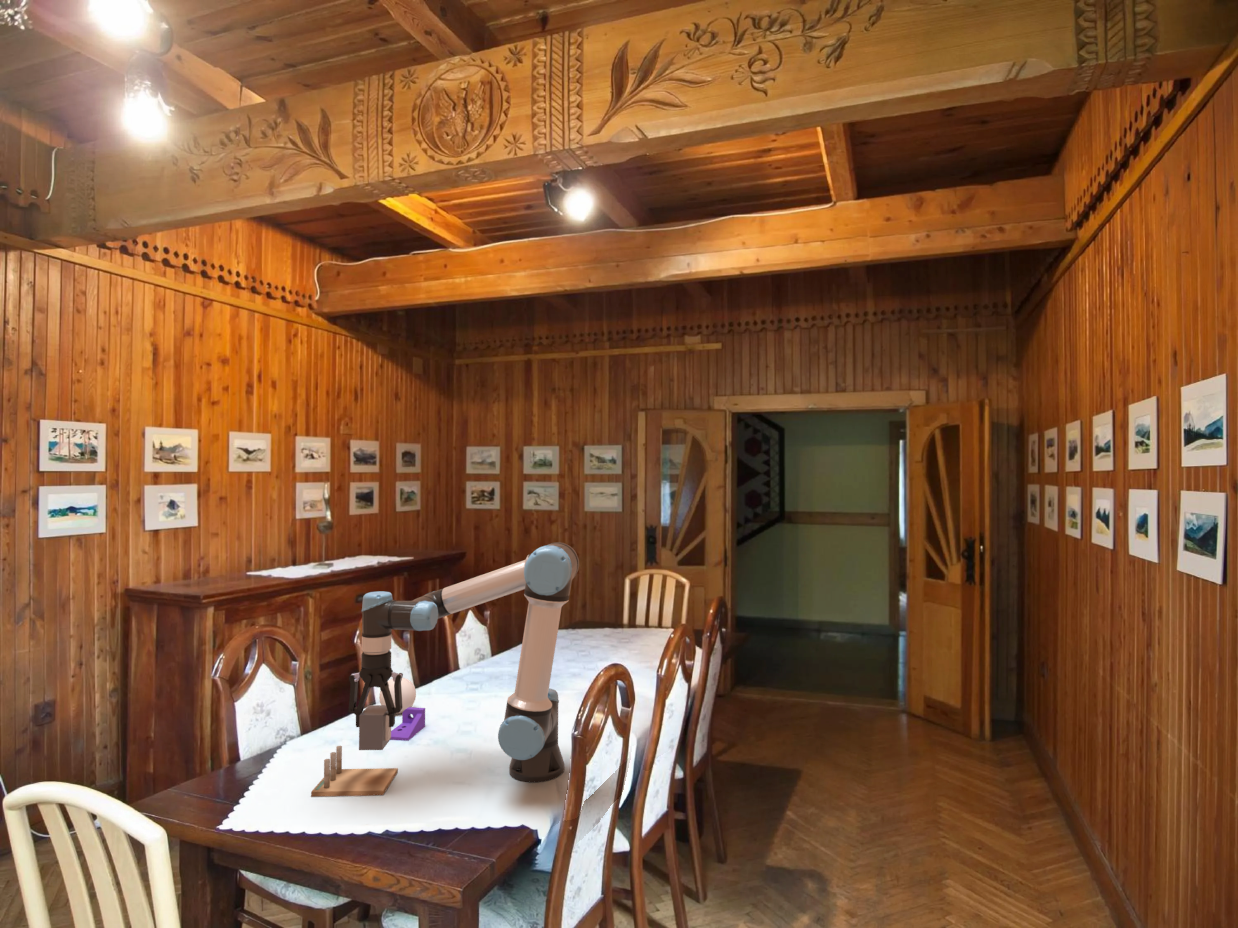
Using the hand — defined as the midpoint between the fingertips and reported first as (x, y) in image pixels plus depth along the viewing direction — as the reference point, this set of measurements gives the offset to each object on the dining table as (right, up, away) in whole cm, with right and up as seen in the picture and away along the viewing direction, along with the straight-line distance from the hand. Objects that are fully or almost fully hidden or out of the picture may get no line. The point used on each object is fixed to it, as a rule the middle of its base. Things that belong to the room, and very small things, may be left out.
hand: (375, 738), depth 190 cm
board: (-5, -12, 0) cm, 13 cm away
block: (0, -1, 0) cm, 1 cm away
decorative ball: (-11, -13, +56) cm, 59 cm away
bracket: (-2, -13, +36) cm, 39 cm away
